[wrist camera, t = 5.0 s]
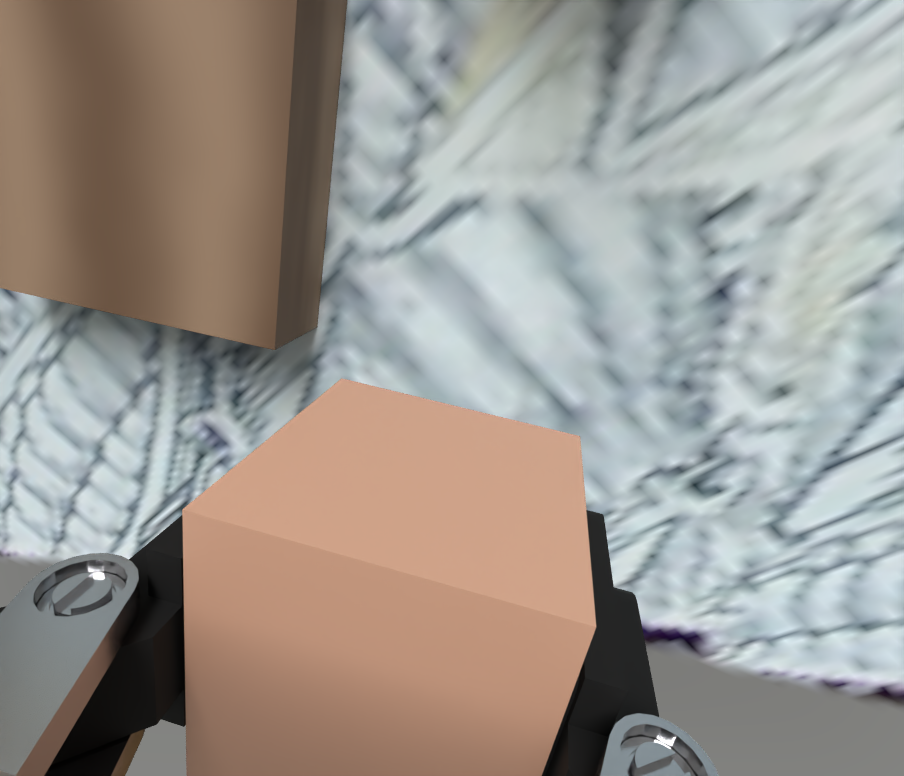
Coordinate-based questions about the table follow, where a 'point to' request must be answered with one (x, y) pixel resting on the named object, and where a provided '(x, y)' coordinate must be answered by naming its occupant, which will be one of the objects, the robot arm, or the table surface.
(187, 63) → the walnut block
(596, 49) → the table surface
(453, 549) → the terracotta cube
